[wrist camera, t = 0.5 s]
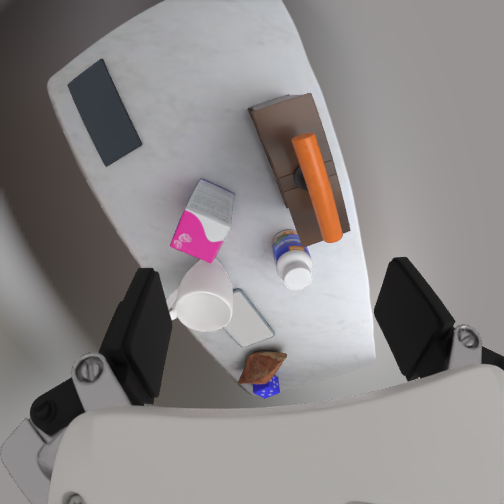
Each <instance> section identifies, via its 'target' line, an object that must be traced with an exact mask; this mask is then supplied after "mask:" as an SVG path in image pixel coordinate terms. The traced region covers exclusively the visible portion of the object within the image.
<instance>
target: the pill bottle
mask: <svg viewBox="0 0 504 504" xmlns="http://www.w3.org/2000/svg"><path fill="white" fill-rule="evenodd" d="M272 248H273V254H274V259H275V264H276V269H277V273H278V275H279V277H280V278H281V279H283V280H284V283H285V285H286V287H287V288H289V289H291V290H301V289H304V288H306V287H307V286H308V285H309V284H310V283H311V281H312V274H311V271H312V268H313V262H312V259H311V256H310V254H309V251H308V249H307V247H304V248H302V245H301V242H300V239H299V237H298V234H297V231H294V230H285V231H282V232H280V233H278V234H277V235H276V236H275V238H274V240H273V243H272Z"/></svg>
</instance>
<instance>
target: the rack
mask: <svg viewBox="0 0 504 504" xmlns="http://www.w3.org/2000/svg"><path fill="white" fill-rule="evenodd" d="M248 111H249V113H250V115H251V118H252V120H253V123H254V125H255V127H256V130H257V132H258V135H259V137H260V140H261V142H262V145H263V147H264V150H265V152H266V155H267V157H268V160H269V162H270V165H271V168H272V170H273V173H274V175H275V178H276V181H277V183H278V186H279V189H280V191H281V194H282V197H283V200H284V202H285V205H286V208H289V211H290V214H291V216H292V219H293V222H294V225H295V228H296V231H297V234H298V237H299V239H300V242H301V245H302V248H304V247H307V246H309V245H312V244H315V243H318V242H321V241H323V238H322V235H321V231H320V228H319V224H318V221H317V217H316V214H315V211H314V207H313V204H312V201H311V198H310V195H309V191H305V190H302V189H300V188H299V187H298V186H297V184H296V183H295V181H294V172H295V170H296V168H297V167H298V166H299V165H300V164H299V161H298V158H297V155H296V152H295V150H294V147H293V144H292V141H291V140H292V139H293V138H294V137H296V136H298V135H301V134H305V133H314V134H315V136H316V139H317V142H318V145H319V148H320V152H321V155H322V158H323V161H324V165H325V168H326V172H327V175H328V179H329V182H330V186H331V189H332V193H333V197H334V201H335V205H336V208H337V212H338V216H339V221H340V225H341V229H342V233H346V232H348V231H350V227H349V222H348V217H347V213H346V209H345V204H344V200H343V196H342V192H341V188H340V184H339V180H338V176H337V173H336V169H335V166H334V162H333V159H332V155H331V152H330V148H329V145H328V142H327V138H326V135H325V132H324V129H323V126H322V123H321V120H320V117H319V114H318V111H317V108H316V105H315V103H314V100H313V97H312V94H311V93H307V94H304V95H286V96H282V97H279V98H276V99H273V100H270V101H267V102H264V103H261V104H259V105H256V106H253V107H250V108H248Z"/></svg>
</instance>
